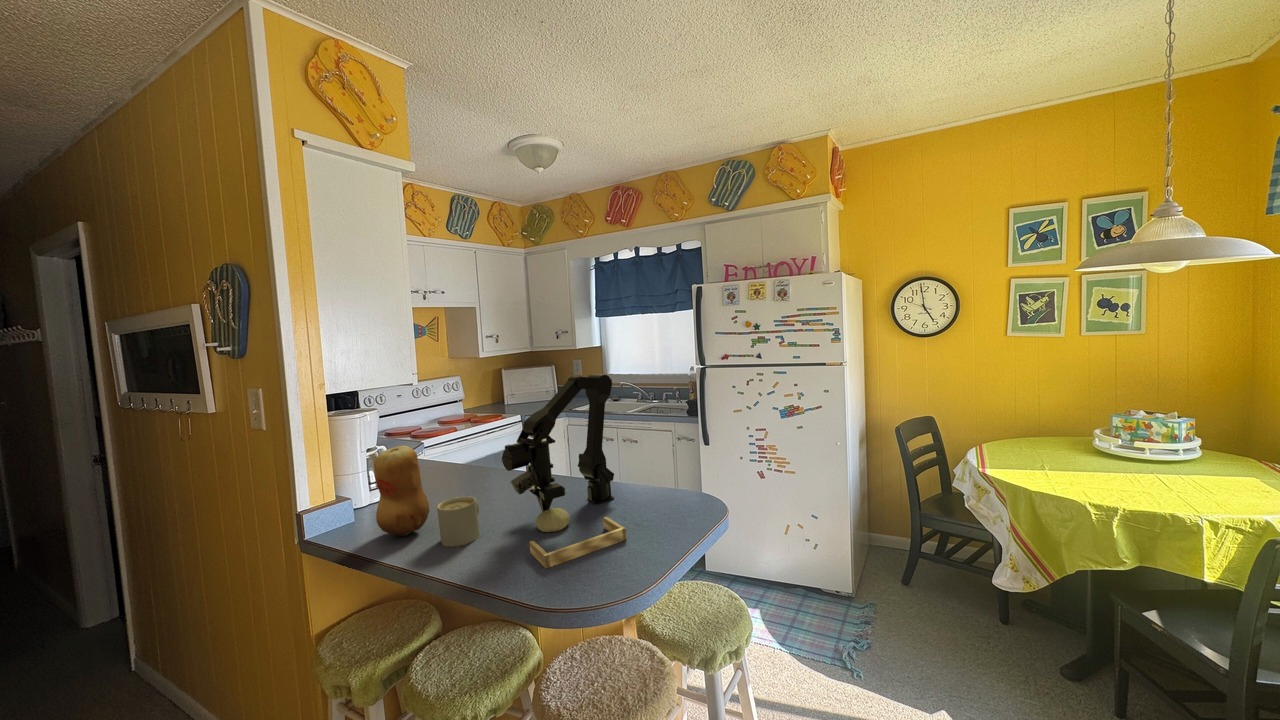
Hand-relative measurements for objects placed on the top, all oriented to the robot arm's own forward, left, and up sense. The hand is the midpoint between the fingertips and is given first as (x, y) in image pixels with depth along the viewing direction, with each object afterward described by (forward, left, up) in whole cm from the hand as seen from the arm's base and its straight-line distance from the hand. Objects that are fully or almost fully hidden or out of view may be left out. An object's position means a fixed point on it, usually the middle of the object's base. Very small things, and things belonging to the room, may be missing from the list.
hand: (545, 514), depth 145 cm
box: (0, +21, -2) cm, 21 cm away
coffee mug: (+21, -7, -2) cm, 22 cm away
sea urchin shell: (0, +5, -2) cm, 6 cm away
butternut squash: (+34, -21, -2) cm, 40 cm away
